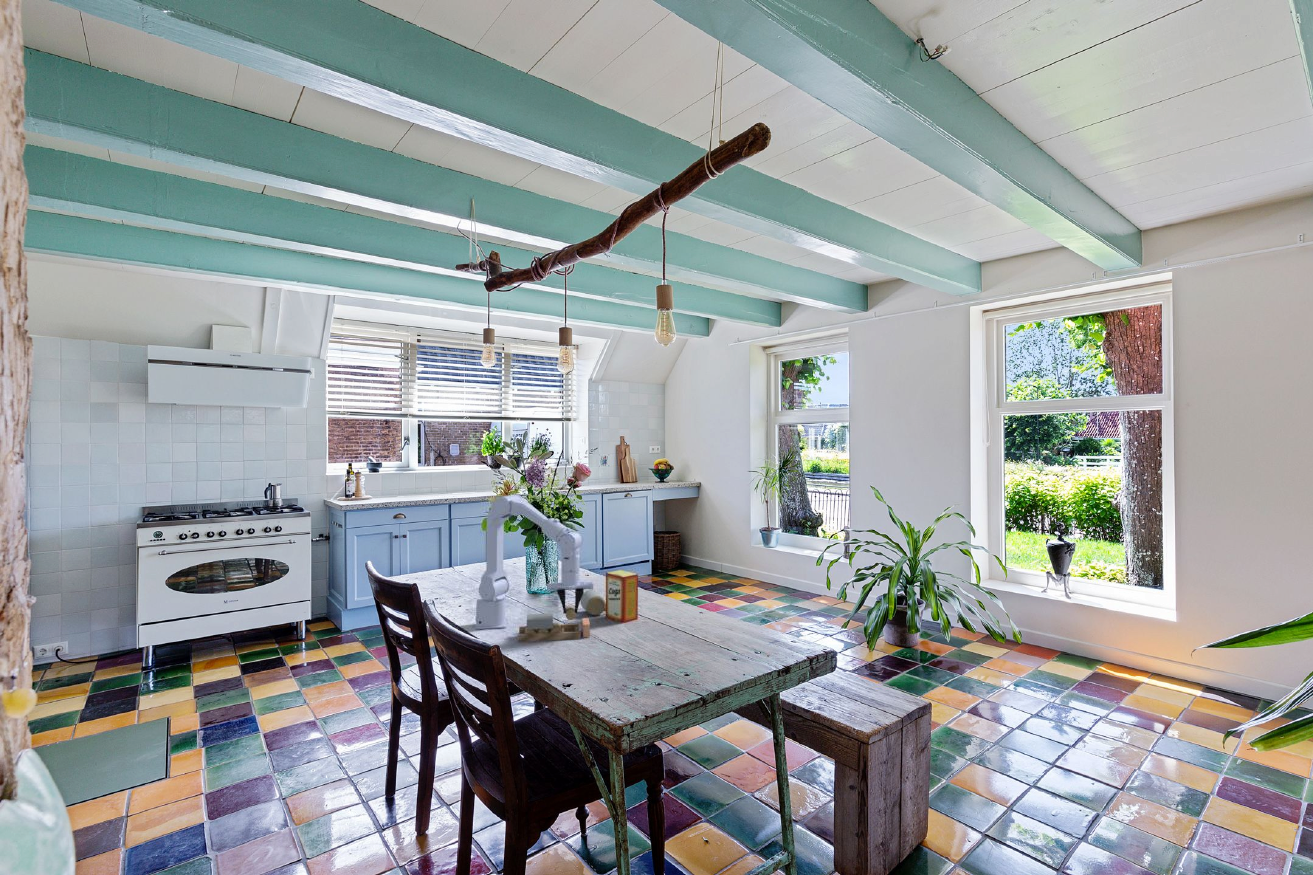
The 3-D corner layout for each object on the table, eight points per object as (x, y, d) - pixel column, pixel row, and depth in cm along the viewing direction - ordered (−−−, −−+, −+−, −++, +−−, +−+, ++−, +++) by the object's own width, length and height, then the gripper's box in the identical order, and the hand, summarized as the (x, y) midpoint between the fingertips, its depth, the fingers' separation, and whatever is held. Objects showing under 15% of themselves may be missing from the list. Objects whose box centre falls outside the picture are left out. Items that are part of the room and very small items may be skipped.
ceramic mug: (586, 617, 220) (587, 595, 220) (579, 611, 228) (580, 590, 228) (615, 614, 224) (615, 593, 224) (607, 608, 232) (608, 587, 232)
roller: (575, 619, 199) (575, 610, 199) (566, 620, 198) (565, 611, 198) (574, 614, 205) (574, 604, 205) (565, 615, 204) (564, 605, 204)
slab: (526, 629, 196) (526, 619, 196) (527, 623, 202) (527, 614, 202) (552, 628, 197) (552, 618, 197) (552, 622, 203) (552, 613, 203)
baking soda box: (605, 617, 221) (605, 571, 221) (619, 613, 225) (620, 568, 225) (623, 623, 214) (623, 576, 214) (637, 619, 218) (638, 573, 218)
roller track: (518, 641, 194) (518, 631, 194) (519, 632, 203) (519, 622, 203) (580, 638, 197) (580, 628, 197) (578, 629, 206) (578, 619, 206)
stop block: (583, 637, 199) (583, 624, 199) (581, 630, 206) (582, 618, 206) (589, 636, 199) (589, 624, 199) (588, 630, 206) (588, 617, 206)
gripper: (547, 573, 196) (547, 617, 196) (594, 571, 199) (594, 614, 199) (547, 568, 203) (547, 610, 203) (592, 567, 206) (592, 608, 206)
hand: (570, 612), depth 201 cm, fingers closed on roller, 3 cm apart
